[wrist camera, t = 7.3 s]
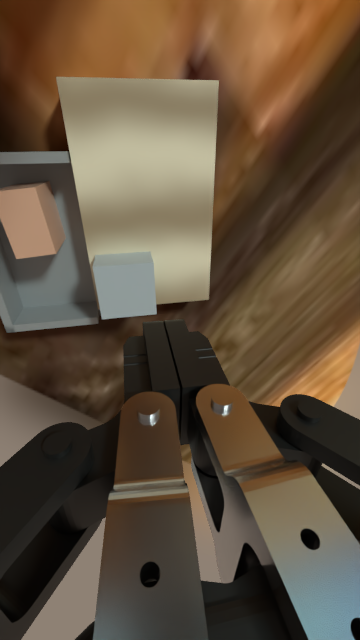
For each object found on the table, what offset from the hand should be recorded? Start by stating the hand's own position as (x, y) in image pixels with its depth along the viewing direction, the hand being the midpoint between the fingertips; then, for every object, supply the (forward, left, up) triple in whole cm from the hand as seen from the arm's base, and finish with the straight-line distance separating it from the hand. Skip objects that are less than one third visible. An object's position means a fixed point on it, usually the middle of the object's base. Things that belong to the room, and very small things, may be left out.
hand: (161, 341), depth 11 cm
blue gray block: (+2, -1, -12) cm, 13 cm away
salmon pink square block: (-2, -6, -13) cm, 14 cm away
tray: (0, -7, -15) cm, 17 cm away
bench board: (-2, +1, -15) cm, 15 cm away
